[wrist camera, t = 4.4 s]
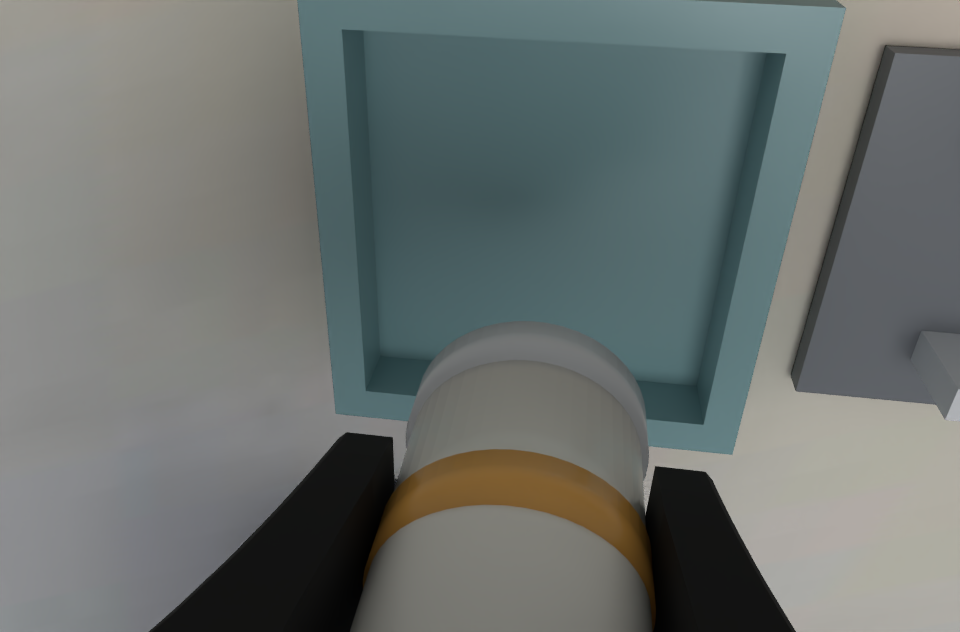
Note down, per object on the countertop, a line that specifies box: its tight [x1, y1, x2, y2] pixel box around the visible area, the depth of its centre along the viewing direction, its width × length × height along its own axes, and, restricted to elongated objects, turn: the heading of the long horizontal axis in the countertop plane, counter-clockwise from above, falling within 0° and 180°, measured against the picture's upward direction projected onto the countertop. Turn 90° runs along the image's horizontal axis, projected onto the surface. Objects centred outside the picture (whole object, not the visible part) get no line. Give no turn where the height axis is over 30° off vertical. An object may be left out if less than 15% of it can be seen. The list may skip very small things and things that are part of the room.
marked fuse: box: [350, 321, 656, 632], centre depth 9 cm, size 3×3×6 cm
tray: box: [297, 0, 846, 455], centre depth 17 cm, size 10×10×2 cm
